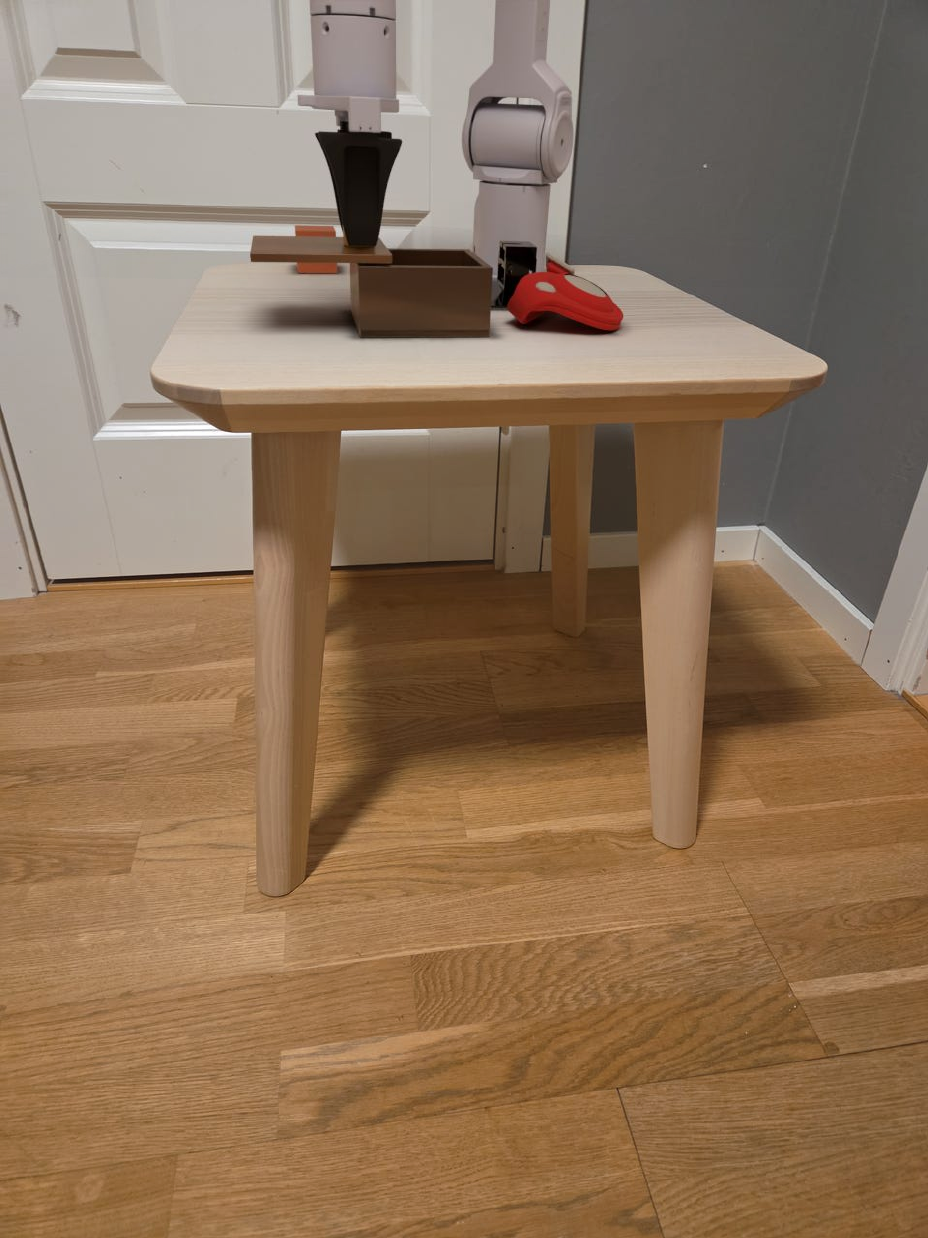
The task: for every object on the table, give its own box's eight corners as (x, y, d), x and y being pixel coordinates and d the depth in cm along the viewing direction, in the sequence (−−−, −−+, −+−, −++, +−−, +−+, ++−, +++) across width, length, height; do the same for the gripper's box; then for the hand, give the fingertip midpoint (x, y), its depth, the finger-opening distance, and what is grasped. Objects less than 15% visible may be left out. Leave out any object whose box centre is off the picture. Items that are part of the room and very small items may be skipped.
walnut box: (351, 311, 69) (348, 247, 66) (467, 311, 71) (469, 249, 68) (360, 337, 62) (358, 266, 59) (489, 336, 63) (493, 267, 61)
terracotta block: (297, 266, 87) (294, 225, 85) (335, 266, 88) (333, 225, 85) (298, 273, 84) (295, 230, 81) (337, 273, 84) (335, 230, 82)
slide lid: (253, 243, 65) (248, 185, 63) (379, 245, 67) (378, 188, 64) (250, 261, 57) (244, 196, 55) (392, 263, 59) (392, 200, 57)
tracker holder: (652, 314, 67) (564, 295, 61) (626, 363, 69) (539, 349, 63) (570, 249, 73) (483, 226, 67) (549, 296, 76) (463, 278, 70)
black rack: (469, 284, 83) (471, 233, 80) (540, 285, 83) (544, 235, 81) (487, 309, 72) (490, 251, 70) (568, 310, 73) (574, 253, 71)
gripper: (291, 23, 60) (303, 227, 67) (294, 5, 48) (309, 254, 55) (386, 29, 61) (388, 228, 69) (413, 12, 49) (412, 255, 57)
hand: (359, 240), depth 62 cm, fingers open, 4 cm apart
